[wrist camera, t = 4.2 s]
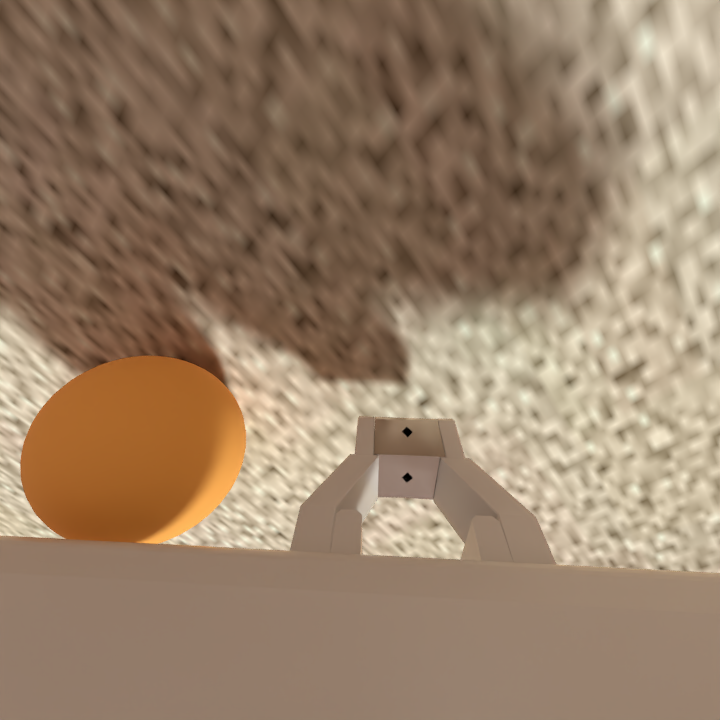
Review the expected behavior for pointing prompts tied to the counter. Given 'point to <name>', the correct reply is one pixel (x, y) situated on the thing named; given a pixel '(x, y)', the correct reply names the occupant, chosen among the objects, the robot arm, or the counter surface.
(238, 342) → the counter surface
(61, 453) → the ball
